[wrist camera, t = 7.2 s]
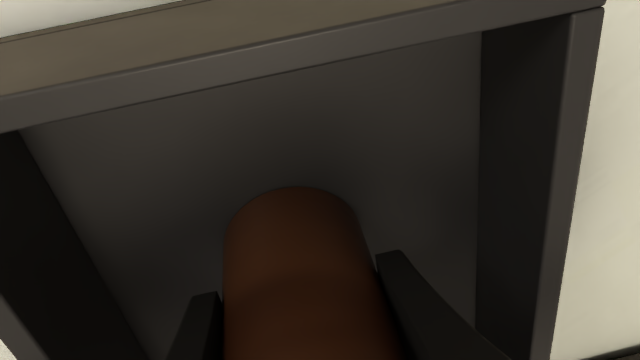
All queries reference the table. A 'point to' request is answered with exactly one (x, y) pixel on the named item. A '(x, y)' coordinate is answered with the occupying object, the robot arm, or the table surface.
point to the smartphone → (631, 357)
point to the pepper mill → (302, 283)
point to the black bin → (288, 156)
